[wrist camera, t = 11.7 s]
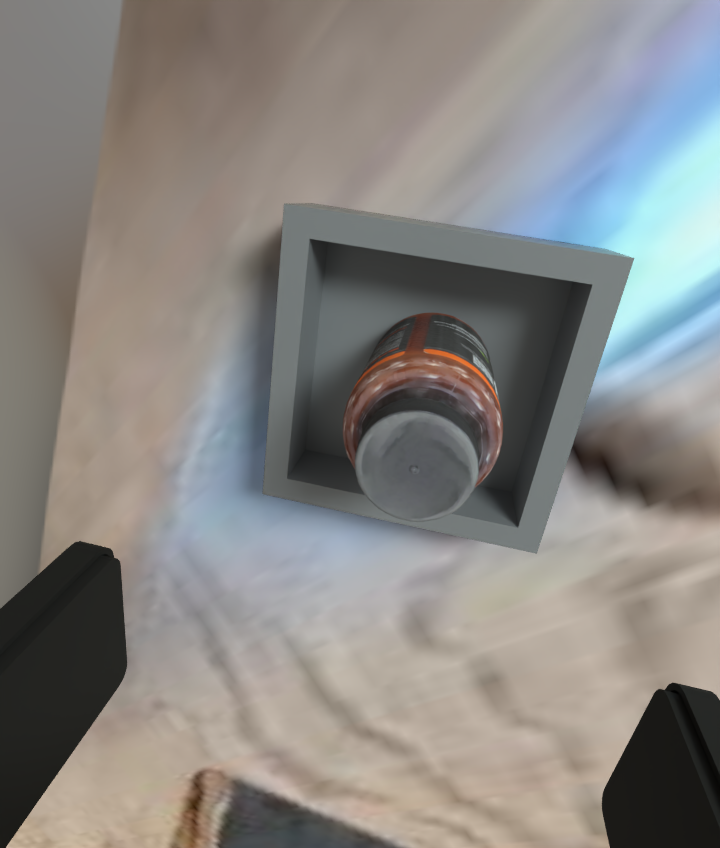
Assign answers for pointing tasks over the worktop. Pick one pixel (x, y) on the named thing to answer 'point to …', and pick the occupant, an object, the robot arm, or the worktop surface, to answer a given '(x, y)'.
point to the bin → (448, 294)
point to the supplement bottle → (424, 418)
